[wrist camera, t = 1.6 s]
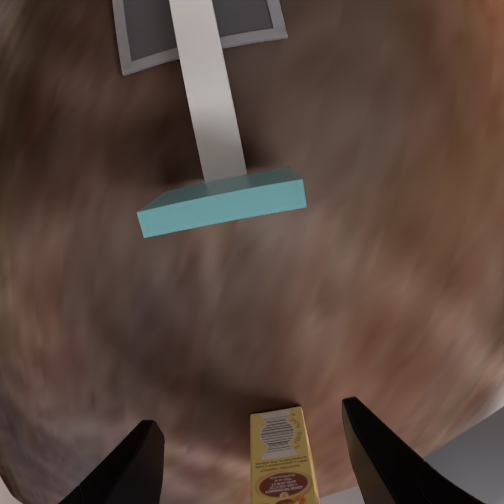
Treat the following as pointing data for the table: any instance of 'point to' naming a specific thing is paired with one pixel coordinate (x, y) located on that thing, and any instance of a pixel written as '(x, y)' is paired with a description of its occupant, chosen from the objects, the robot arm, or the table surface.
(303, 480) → the candy box
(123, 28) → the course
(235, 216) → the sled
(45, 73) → the table surface
